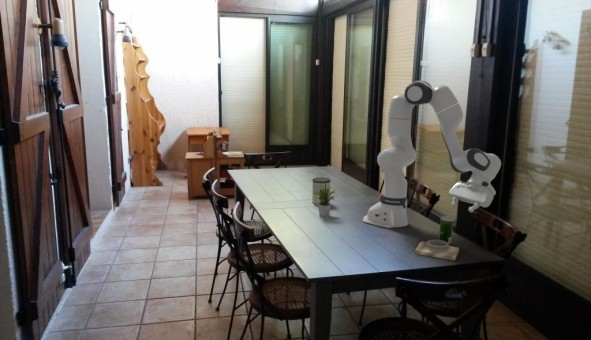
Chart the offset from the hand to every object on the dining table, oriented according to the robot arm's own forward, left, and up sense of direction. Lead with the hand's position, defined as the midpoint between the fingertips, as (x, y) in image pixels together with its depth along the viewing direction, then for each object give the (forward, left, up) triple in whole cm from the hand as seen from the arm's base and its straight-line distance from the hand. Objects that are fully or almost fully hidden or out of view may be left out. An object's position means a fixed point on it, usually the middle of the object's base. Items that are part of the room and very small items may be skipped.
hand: (461, 208), depth 211 cm
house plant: (-68, +3, -15) cm, 69 cm away
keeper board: (-6, -21, -15) cm, 26 cm away
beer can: (-5, -8, -15) cm, 17 cm away
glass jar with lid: (-80, +25, -15) cm, 85 cm away
